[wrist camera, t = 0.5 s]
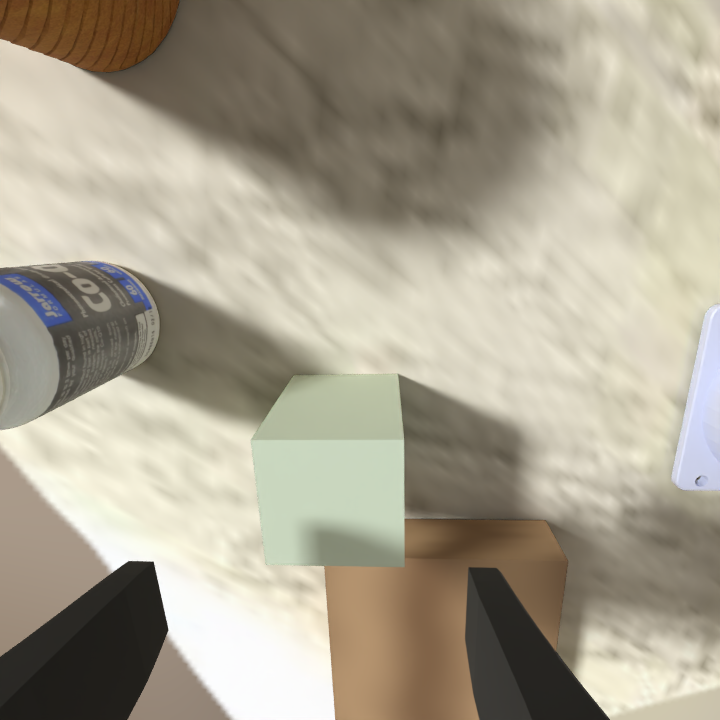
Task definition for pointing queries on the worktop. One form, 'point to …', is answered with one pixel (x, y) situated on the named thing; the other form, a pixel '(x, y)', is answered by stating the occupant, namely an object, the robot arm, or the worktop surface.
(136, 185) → the worktop surface
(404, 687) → the walnut base
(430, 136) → the worktop surface
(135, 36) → the disposable coffee cup
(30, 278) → the pill bottle
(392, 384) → the sage block
